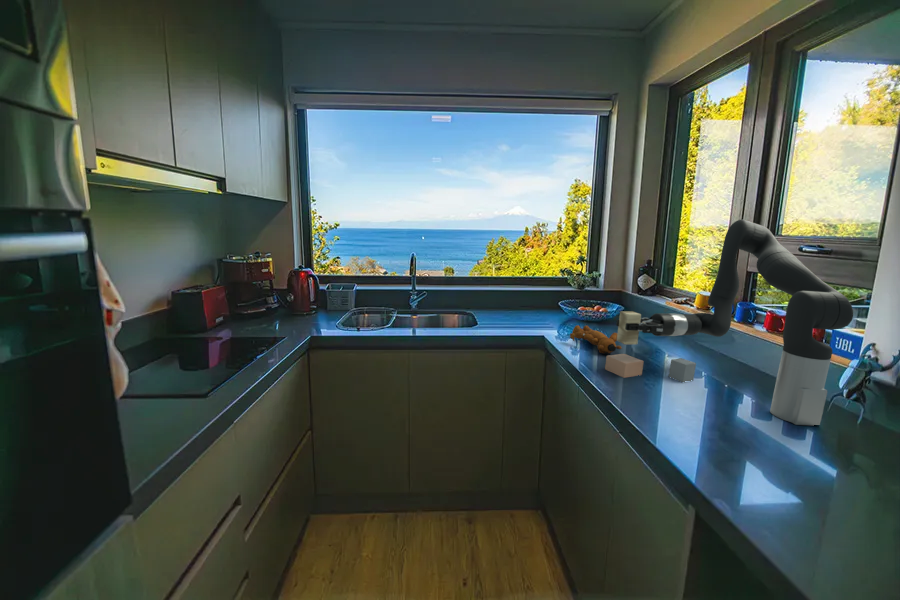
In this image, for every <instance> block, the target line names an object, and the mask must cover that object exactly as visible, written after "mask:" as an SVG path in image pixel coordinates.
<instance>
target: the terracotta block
mask: <svg viewBox="0 0 900 600" xmlns="http://www.w3.org/2000/svg"><path fill="white" fill-rule="evenodd" d="M605 358H606V359H605V365H604V370H606V371H608V372H609V373H612V374H615V375H617V376H619V377H621V378H623V379H624V378H630V377H631V378H632V377H638V375H639V376H642V375H643V368H644V362H645V361H644V360H642V359H639V358H636V357H634V356H630V355H628V354H627V353H619V354H610V355H609V354H607V355H606V357H605Z"/></svg>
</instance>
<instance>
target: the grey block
mask: <svg viewBox="0 0 900 600" xmlns="http://www.w3.org/2000/svg"><path fill="white" fill-rule="evenodd" d="M696 366H697V362H694V361H691V360H688V359H685V358H681V357H680V358H673V359H671V360H670V365H669V370H668V378H669V377H671V378H670V379H672V378H674V379H673V380H675V379H676V380H675V381H677V380H678V381H677V382H680V381H681V383H682V382H684V383H686V382H685V381H690V382H692V381H691V380H693V381H694V378H695V372H696Z"/></svg>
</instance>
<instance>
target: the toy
mask: <svg viewBox="0 0 900 600" xmlns="http://www.w3.org/2000/svg"><path fill="white" fill-rule="evenodd" d="M617 334H618V332H613V333H611V335H610V336H609V337H608V336H607V335H606V334H604V333H603V332H601V331H598V330H594V329H592V328H590V326H589V325H584V326H583V328H581V327H580V325H575V326H574V327H573V329H572V333H570V334H569V338H570V340H571V339H572V342H575V338H576V339H579V340H580V339H582V340H585V341H588V342H589V343H590V344H592V345H593V346H596V347H597V350H598V352H599V353H600V354H607V355H609V354H611V353H614V352H615V351H616V350H621V349H622V346H621V345H616V342H618V341H617Z"/></svg>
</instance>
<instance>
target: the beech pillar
mask: <svg viewBox="0 0 900 600" xmlns="http://www.w3.org/2000/svg"><path fill="white" fill-rule="evenodd" d="M618 318H619V326H617V341H616V342H619V343H621V344H623V345H627V346H628V345H629V346H630V345H638V341H639V334H640V331H637V330H626V329H625V326H626V323H637V324H638V323H640V320H641V318H642V314H641V313H639V312H636V311H633V310H631V311H626V310H624V311H622V310H621V311H619V317H618Z"/></svg>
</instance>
